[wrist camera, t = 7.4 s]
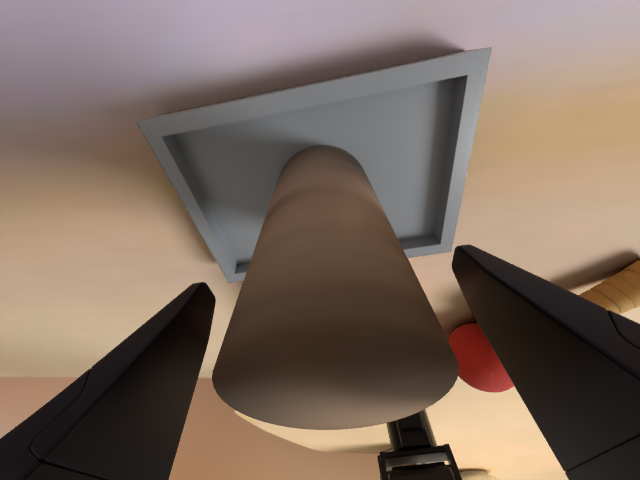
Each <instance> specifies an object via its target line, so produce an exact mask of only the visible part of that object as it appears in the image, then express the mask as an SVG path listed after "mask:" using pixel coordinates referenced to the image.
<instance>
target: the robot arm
mask: <svg viewBox="0 0 640 480" xmlns="http://www.w3.org/2000/svg"><path fill="white" fill-rule="evenodd" d="M452 269H453V272H454V274H455V277H456V279H457V281H458V284H459V286H460V288H461V290H462V293H463V295H464V297H465V299H466V302H467V304H468V306H469V308H470V310H471V312H472V314H473V316H474V317H475V319H476V321H477V323H478V324H479V326H480V328H481V329H482V331H483V333H484V335H485V336H486V338H487V340H488V341H489V343H490V345H491V347H492V348H493V350H494V352H495V353H496V355H497V357H498V359H499V360H500V362H501V364H502V365H503V367H504V369H505V371H506V372H507V374H508V376H509V377H510V379H511V381H512V383H513V384H514V386H515V388H516V389H517V391H518V393H519V395H520V396H521V398H522V400H523V401H524V403H525V405H526V407H527V408H528V410H529V412H530V413H531V415H532V417H533V418H534V420H535V422H536V424H537V425H538V427H539V429H540V430H541V432H542V434H543V436H544V437H545V439H546V441H547V442H548V444H549V446H550V448H551V449H552V451H553V453H554V454H555V456H556V458H557V460H558V461H559V463H560V465H561V466H562V468H563V470H564V471H565V474H566V475H567V477H568V479H569V480H640V324H639V323H636V322H634V321H632V320H630V319H628V318H626V317H624V316H621V315H619V314H617V313H615V312H613V311H611V310H606V308H604V307H602V306H600V305H598V304H596V303H594V302H591V301H589V300H587V299H585V298H583V297H581V296H579V295H576V294H574V293H572V292H570V291H568V290H566V289H564V288H562V287H559V286H557V285H555V284H553V283H551V282H549V281H547V280H545V279H542V278H540V277H538V276H536V275H534V274H532V273H530V272H527V271H525V270H523V269H521V268H519V267H517V266H515V265H513V264H510V263H508V262H506V261H504V260H502V259H500V258H498V257H496V256H493V255H491V254H489V253H487V252H485V251H483V250H481V249H479V248H476V247H474V246H472V245H461V246H457V247H456V248H455V251H454V256H453V261H452ZM215 302H216V300H215V296H214V294H213V293H212V291H211V290H210V288H209V287H208V285H207V284H206V283H204V282H200V283H194V284H192V285H191V286H189V287H188V288H187V289H186V290H185V291H183V292H182V293H181V294H180V295H179V296H177V297H176V298H175V299H174V300H172V301H171V302H170V303H169V304H168V305H166V306H165V307H164V308H163V309H162V310H160V311H159V312H158V313H157V314H155V315H154V316H153V317H152V318H151V319H149V320H148V321H147V322H146V323H145V324H143V325H142V326H141V327H140V328H138V329H137V330H136V331H135V332H134V333H132V334H131V335H130V336H129V337H128V338H126V339H125V340H124V341H123V342H121V343H120V344H119V345H118V346H117V347H115V348H114V349H113V350H112V351H111V352H109V353H108V354H107V355H106V356H105V357H103V358H102V359H101V360H100V361H98V362H97V363H96V364H95V365H94V366H92V368H91V369H89V370H87V371H86V372H85V373H84V374H83V375H81V376H80V377H79V378H78V379H77V380H75V381H74V382H73V383H72V384H70V385H69V386H68V387H67V388H66V389H64V390H63V391H62V392H61V393H59V394H58V395H57V396H56V397H54V398H53V399H52V400H50V401H49V402H48V403H46V404H45V405H44V406H43V407H41V408H40V409H39V410H37V411H36V412H35V413H34V414H32V415H31V416H30V417H28V418H27V419H26V420H24V421H23V422H22V423H20V424H19V425H18V426H16V427H15V428H14V429H13V430H11V431H10V432H9V433H7V434H6V435H5V436H3V437H2V438H1V439H0V480H168V479H169V476H170V472H171V469H172V465H173V462H174V458H175V455H176V452H177V448H178V445H179V441H180V438H181V434H182V431H183V427H184V424H185V421H186V417H187V414H188V410H189V407H190V403H191V400H192V396H193V393H194V389H195V386H196V382H197V379H198V376H199V372H200V369H201V365H202V362H203V358H204V355H205V352H206V348H207V344H208V340H209V336H210V330H211V325H212V319H213V314H214V308H215ZM386 424H387V428H388V433H389V438H390V443H391V448H392V451H391V452H380V455H379V456H378V463H379V468H380V478H381V480H462V478H461V475H460V472H459V470H458V467H457V464H456V462H455V459H454V457H453V454H452V451H451V449H450V446H449V444H444V445H442V446H437V444H436V441H435V438H434V435H433V432H432V429H431V425H430V422H429V419H428V416H427V413H426V410H425V409H424V410H422V411H419V412H417V413H415V414H413V415H410V416H407V417H405V418H401V419H398V420H395V421H391V422H387V423H386ZM439 461H448V462H449V465H445V463H444V462H439ZM429 462H435V463H429ZM420 463H425V464H420ZM411 464H416V465H411ZM401 465H406V466H401ZM392 466H397V467H392Z"/></svg>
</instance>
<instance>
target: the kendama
mask: <svg viewBox="0 0 640 480" xmlns="http://www.w3.org/2000/svg"><path fill="white" fill-rule="evenodd" d="M579 296H581V297H583V298H585V299H587V300H589V301H591V302H594V303H596V304H598V305H600V306H602V307H604V308H606V310H611V311H613V312H615V313H617V314H621V313H624V312H627V311H629V310H631V309H633V308H637V307H639V306H640V260H637V261H636V262H634V263H633V264H631V265H629V266H628V267H626V268H625V269H623V270H622V271H620V272H618V273H616V274H615V275H613V276H612V277H610V278H608V279H606V280H605V281H603V282H601V283H600V284H598V285H596V286H594V287H592V288H591V289H590V290H587V291H585V292H584V293H582V294H580V295H579ZM448 342H449V344H450V346H451V348H452V350H453V352H454V354H455V356H456V359H457V361H458V367H459V372H458V376H459V377H460V378H461V379H462V380H463V381H464V382H466V383H467V384H468V385H470V386H472V387H474V388H476V389H478V390H481V391H486V392H502V391H506V390H508V389H510V388H512V387H513V386H514V384H513V383H512V381H511V379H510V377H509V376H508V374H507V372H506V371H505V369H504V367H503V365H502V364H501V362H500V360H499V359H498V357H497V355H496V353H495V352H494V350H493V348H492V347H491V345H490V343H489V341H488V340H487V338H486V336H485V335H484V333H483V331H482V329H481V328H480V326H479V324H478V323H469V324H465V325H462V326H460V327H458V328H456V329H455V330H454V331H453V332H452V333H451V335H450V336H449V338H448Z"/></svg>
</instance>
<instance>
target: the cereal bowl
mask: <svg viewBox="0 0 640 480" xmlns="http://www.w3.org/2000/svg"><path fill="white" fill-rule="evenodd" d="M460 475H461V478H462V480H500V479H498V478H496V477H493V476H491V475H488V474H487V473H486V472H485V471H481V470H470V471H463V472H460Z"/></svg>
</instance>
